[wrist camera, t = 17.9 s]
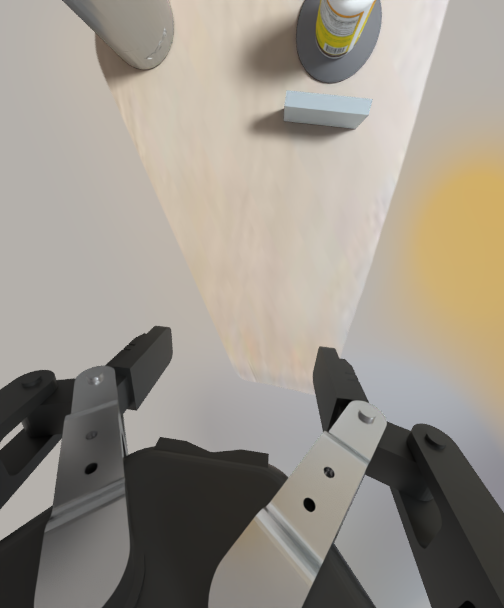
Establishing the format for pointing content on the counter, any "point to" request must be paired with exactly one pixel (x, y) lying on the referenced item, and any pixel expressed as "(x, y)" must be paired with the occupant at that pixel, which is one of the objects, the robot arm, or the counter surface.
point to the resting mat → (334, 67)
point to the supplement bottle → (340, 25)
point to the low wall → (325, 109)
